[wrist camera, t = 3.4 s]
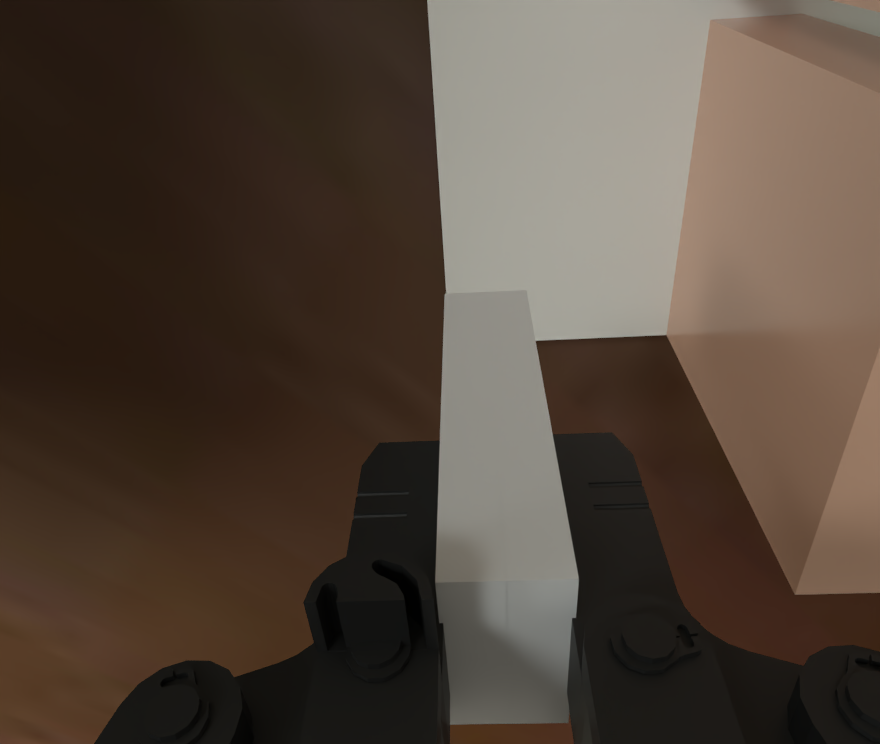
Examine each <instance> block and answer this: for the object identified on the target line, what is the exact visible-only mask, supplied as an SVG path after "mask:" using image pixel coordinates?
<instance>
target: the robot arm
mask: <svg viewBox="0 0 880 744" xmlns="http://www.w3.org/2000/svg"><path fill="white" fill-rule="evenodd" d="M641 482H642V481H641V478H640V475H639V472H638V469H637V465H636V462H635V459H634V456H633V454H632V453H631V452H630V451H629V450H628V449H627V448H626V447H625V446H624V445H623V444H622V443H621V442H620V441H619V440H618V438H617V437H616V436H615V435H614V434H613V433H612V432H611V433H583V434H554V435H553V434H552V428H551V423H550V417H549V412H548V406H547V401H546V395H545V390H544V384H543V379H542V373H541V368H540V363H539V357H538V352H537V346H536V341H535V335H534V330H533V324H532V319H531V313H530V308H529V302H528V297H527V291H526V290H517V291H495V292H474V293H452V294H445V299H444V330H443V360H442V391H441V421H440V441H417V442H389V443H379V444H378V445H377V447H376V448H375V449H374V451H373V452H372V453H371V455H370V456H369V457H368V459H367V460H366V461H365V463H364V464H363V465H362V469H361V474H360V480H359V486H358V492H357V493H358V497H357V498H356V504H355V509H354V520H353V521H352V527H351V533H350V539H349V544H348V550H347V556H346V557H345V558H343V559H341V560H339V561H337V562H335V563H333V564H332V565H330V566H328V567H327V568H326V569H325V570H324V571H323V572H322V573H321V574H320V575H319V576H318V577H317V578H316V579H315V580H314V581H313V583H312V585H311V587H310V589H309V591H308V594H307V596H306V598H305V600H304V606H305V610H306V614H307V618H308V621H309V625H310V629H311V632H312V636H313V640H314V643H313V644H312V645H311V646H309V647H308V648H306V649H305V650H303V651H302V652H300V653H299V654H298V655H296V656H293V657H291V658H289V659H287V660H284V661H282V662H280V663H277V664H274V665H271V666H268V667H265V668H262V669H259V670H256V671H253V672H250V673H247V674H243V675H240V676H237V677H233V675H232V674H231V672H230V671H229V670H228V669H226V668H224V667H222V666H220V665H218V664H215V663H213V662H211V661H184V662H181V663H178V664H175V665H171V666H168V667H165V668H162V669H161V670H159V671H158V672H156V673H155V674H153V675H152V676H150V677H149V678H147V679H145V680H144V681H142V682H141V683H139V684H138V685H137V687H136V688H135V689H134V690H133V691H132V692H131V693H130V694H129V696H128V697H127V698H126V699H125V700H124V701H123V702H122V703H121V705H120V706H119V707H118V709H117V710H116V712H115V713H114V715H113V716H112V718H111V719H110V721H109V722H108V724H107V725H106V727H105V728H104V730H103V731H102V733H101V734H100V736H99V737H98V739H97V740H96V742H95V743H94V744H450V725H451V724H523V723H568V720H569V711H570V718H571V725H572V732H573V739H574V744H880V652H878V651H874V650H871V649H867V648H863V647H859V646H855V645H848V646H830V647H827V648H825V649H823V650H821V651H819V652H817V653H815V654H813V655H811V656H809V658H808V660H807V662H806V663H805V665H804V666H802V665H798V664H794V663H790V662H787V661H783V660H779V659H775V658H772V657H768V656H764V655H760V654H757V653H753V652H749V651H747V650H744V649H741V648H738V647H736V646H733V645H730V644H728V643H726V642H725V641H723V640H721V639H719V638H718V637H716V636H714V635H712V634H711V633H710V632H708V631H707V630H706V629H705V628H704V627H702V626H701V625H700V623H699V622H698V621H697V620H696V619H694V618H693V617H692V616H691V614H690V613H689V612H688V611H687V609H686V608H685V607H684V605H683V603H682V601H681V599H680V596H679V594H678V592H677V589H676V586H675V583H674V580H673V577H672V574H671V571H670V568H669V565H668V561H667V558H666V555H665V552H664V549H663V546H662V543H661V540H660V537H659V534H658V530H657V527H656V524H655V521H654V518H653V515H652V512H651V509H649V503H648V499H647V496H646V493H645V490H644V487H643V486H642V483H641Z"/></svg>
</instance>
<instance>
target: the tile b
mask: <svg viewBox="0 0 880 744" xmlns="http://www.w3.org/2000/svg"><path fill="white" fill-rule="evenodd" d="M831 1H835V2H839V3H843V4H847V5H851V6H856V7H860V8H864V9H868V10H872V11H876V12H880V0H831Z"/></svg>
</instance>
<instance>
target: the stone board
mask: <svg viewBox="0 0 880 744" xmlns="http://www.w3.org/2000/svg"><path fill="white" fill-rule="evenodd" d="M427 3H428V19H429V34H430V50H431V65H432V81H433V96H434V112H435V127H436V142H437V158H438V173H439V189H440V204H441V220H442V235H443V251H444V266H445V282H446V294H452V293H474V292H495V291H517V290H526V291H527V297H528V302H529V308H530V313H531V319H532V324H533V330H534V335H535V341H540V340H563V339H586V338H609V337H632V336H655V335H666V334H667V327H668V320H669V313H670V305H671V298H672V291H673V284H674V277H675V270H676V262H677V255H678V248H679V241H680V234H681V226H682V219H683V212H684V205H685V198H686V190H687V183H688V176H689V169H690V162H691V155H692V147H693V140H694V133H695V126H696V119H697V111H698V104H699V97H700V90H701V83H702V75H703V68H704V61H705V54H706V47H707V40H708V32H709V25H710V20H714V19H729V18H744V17H759V16H774V15H789V14H805V15H808V16H812V17H815V18H818V19H822V20H825V21H828V22H832V23H835V24H838V25H842V26H845V27H848V28H852V29H855V30H858V31H862V32H865V33H868V34H871V35H875V36H878V37H880V12H876V11H872V10H868V9H864V8H860V7H856V6H851V5H847V4H843V3H839V2H835V1H831V0H427Z"/></svg>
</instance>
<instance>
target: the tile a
mask: <svg viewBox="0 0 880 744" xmlns="http://www.w3.org/2000/svg"><path fill="white" fill-rule="evenodd" d="M666 335H667V337H668V339H669V341H670V343H671V345H672V347H673V349H674V351H675V353H676V355H677V357H678V359H679V362H680V364H681V366H682V368H683V370H684V372H685V374H686V376H687V378H688V380H689V382H690V384H691V386H692V388H693V390H694V392H695V394H696V396H697V398H698V400H699V402H700V404H701V406H702V408H703V410H704V412H705V414H706V416H707V418H708V420H709V422H710V424H711V426H712V428H713V430H714V432H715V434H716V436H717V438H718V440H719V442H720V444H721V446H722V448H723V450H724V453H725V455H726V457H727V459H728V461H729V463H730V465H731V467H732V469H733V471H734V473H735V475H736V477H737V479H738V481H739V483H740V485H741V487H742V489H743V491H744V493H745V495H746V497H747V499H748V501H749V503H750V505H751V507H752V509H753V511H754V513H755V515H756V517H757V519H758V521H759V523H760V525H761V527H762V529H763V531H764V533H765V535H766V537H767V539H768V541H769V544H770V546H771V548H772V550H773V552H774V554H775V556H776V558H777V560H778V562H779V564H780V566H781V568H782V570H783V572H784V574H785V576H786V578H787V580H788V582H789V584H790V586H791V588H792V590H793V592H794V594H795V595H805V594H846V593H880V37H878V36H875V35H871V34H868V33H865V32H862V31H858V30H855V29H852V28H848V27H845V26H842V25H838V24H835V23H832V22H828V21H825V20H822V19H818V18H815V17H812V16H808V15H805V14H789V15H774V16H759V17H744V18H729V19H714V20H710V25H709V32H708V40H707V47H706V54H705V61H704V68H703V75H702V83H701V90H700V97H699V104H698V111H697V119H696V126H695V133H694V140H693V147H692V155H691V162H690V169H689V176H688V183H687V190H686V198H685V205H684V212H683V219H682V226H681V234H680V241H679V248H678V255H677V262H676V270H675V277H674V284H673V291H672V298H671V305H670V313H669V320H668V327H667V334H666Z"/></svg>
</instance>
